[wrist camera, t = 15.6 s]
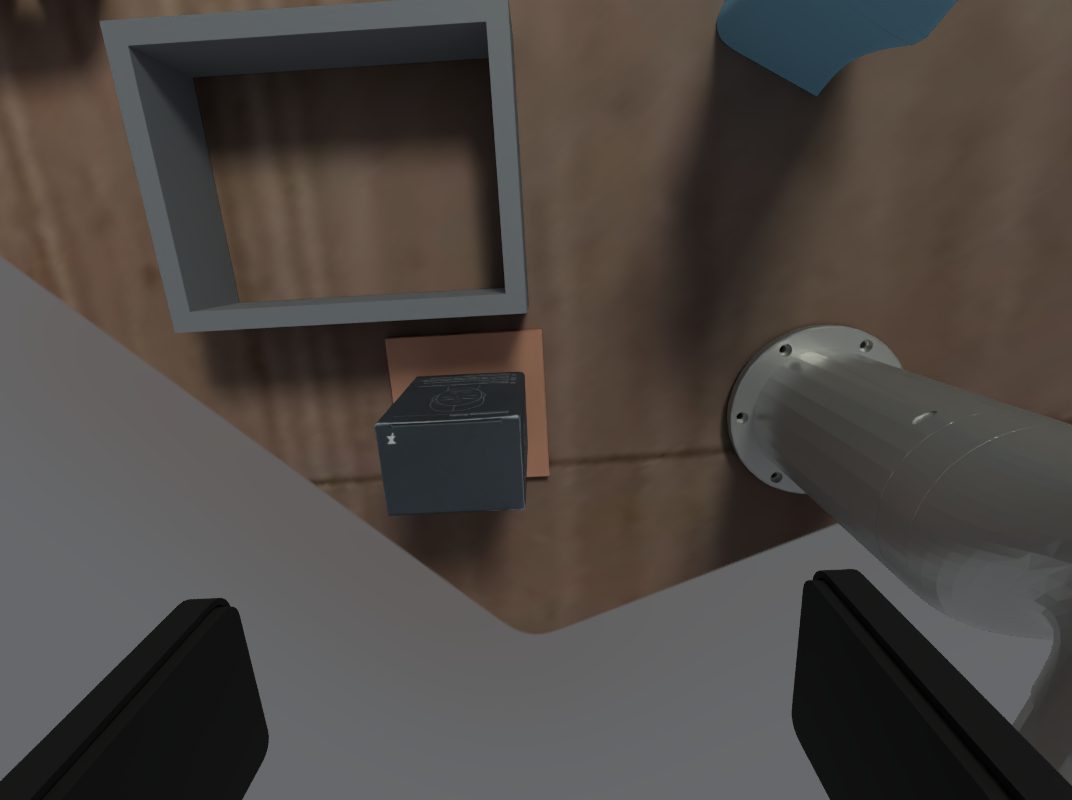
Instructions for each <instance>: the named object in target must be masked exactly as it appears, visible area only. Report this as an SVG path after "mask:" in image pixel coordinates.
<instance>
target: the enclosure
mask: <svg viewBox="0 0 1072 800" xmlns="http://www.w3.org/2000/svg"><path fill="white" fill-rule="evenodd" d="M99 22H100V26H101V30H102V34H103V38H104V43H105V47H106V51H107V55H108V59H109V63H110V67H111V71H112V76H113V80H114V84H115V88H116V92H117V96H118V100H119V104H120V108H121V113H122V117H123V121H124V125H125V129H126V133H127V137H128V141H129V146H130V150H131V154H132V158H133V162H134V166H135V170H136V174H137V179H138V183H139V187H140V191H141V195H142V199H143V203H144V207H145V211H146V216H147V220H148V224H149V228H150V232H151V236H152V240H153V244H154V249H155V253H156V257H157V261H158V265H159V269H160V273H161V277H162V281H163V286H164V290H165V294H166V298H167V302H168V306H169V310H170V314H171V319H172V323H173V327H174V331H175V333H184V332H202V331H220V330H238V329H255V328H273V327H291V326H309V325H327V324H344V323H362V322H380V321H398V320H416V319H433V318H451V317H469V316H487V315H504V314H522V313H527V311H528V305H529V300H528V283H527V267H526V250H525V233H524V216H523V199H522V183H521V166H520V149H519V132H518V115H517V99H516V82H515V65H514V48H513V33H512V25H511V17H510V8H509V0H397V1H382V2H368V3H353V4H339V5H324V6H309V7H295V8H280V9H266V10H251V11H237V12H222V13H208V14H193V15H178V16H164V17H149V18H135V19H120V20H106V21H99ZM482 58H489V67H490V81H491V95H492V109H493V124H494V138H495V152H496V166H497V180H498V194H499V208H500V222H501V236H502V250H503V264H504V279H505V288H492V289H474V290H457V291H439V292H422V293H404V294H387V295H369V296H352V297H335V298H317V299H300V300H282V301H265V302H247V303H239V299H238V294H237V289H236V284H235V279H234V274H233V270H232V265H231V260H230V255H229V250H228V245H227V241H226V236H225V231H224V226H223V221H222V216H221V211H220V207H219V202H218V197H217V192H216V187H215V182H214V178H213V173H212V168H211V163H210V158H209V153H208V148H207V144H206V139H205V134H204V129H203V124H202V119H201V115H200V110H199V105H198V100H197V95H196V90H195V85H194V81H193V78H195V77H210V76H225V75H240V74H255V73H270V72H285V71H300V70H316V69H331V68H346V67H361V66H376V65H391V64H406V63H421V62H436V61H452V60H467V59H482Z"/></svg>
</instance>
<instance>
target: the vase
mask: <svg viewBox="0 0 1072 800" xmlns="http://www.w3.org/2000/svg"><path fill="white" fill-rule="evenodd" d="M957 1H958V0H726V1H725V3H724V5H723V7H722V9H721V11H720V13H719V16H718V19H717V24H716V25H717V30H718V33H719V36H720V38H721V40H722V41H723V42H724V43H725V44H726V45H727V46H729V47H730V48H732V49H733V50H735V51H737V52H738V53H740V54H742V55H743V56H745V57H747V58H749V59H750V60H752V61H754V62H756V63H758V64H759V65H761V66H763V67H765V68H767V69H768V70H770V71H772V72H774V73H775V74H777V75H779V76H781V77H783V78H784V79H786V80H788V81H790V82H791V83H793V84H795V85H797V86H799V87H800V88H802V89H804V90H806V91H808V92H809V93H811V94H813V95H815V96H818V94H819V93H820V92H821V91H822V89H823V88H824V87H825V86H826V84H827V83H828V82H829V81H830V80H831V79H832V78H833V76H835V75H836V74H837V73H838V72H839V71H840V70H841V69H842V68H843V67H844V66H846V65H847V64H848V63H850V62H851V61H853V60H854V59H857V58H859V57H861V56H863V55H865V54H868V53H872V52H875V51H878V50H883V49H888V48H894V47H901V46H907V45H913V44H915V43H917V42H919V41H921V40H922V39H924V38H926V37H927V36H928V35H929V34H930V33H931V31H932V30H933V29H934V28H935V27H936V25H937V24H938V23H939V22H940V21H941V19H942V18H943V17H944V16H945V15H946V13H947V12H948V11H949V10H950V9H951V8H952V6H953V5H954V4H955V3H956V2H957Z"/></svg>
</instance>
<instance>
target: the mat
mask: <svg viewBox="0 0 1072 800" xmlns="http://www.w3.org/2000/svg"><path fill="white" fill-rule="evenodd" d="M385 345H386V352H387V360H388V367H389V375H390V382H391V389H392V397H393V403H394V402H395V401H396V400H397V399H398V398H399V397H400V395H401V394H402V393H403V392H404V391H405V390H406V388H407V387H408V386H409V385H410V384H411V383H412V382H413V380H414V379H415V378H416V377H419V376H437V375H457V374H479V373H500V372H523V373H524V375H525V391H526V413H527V434H528V454H527V477H538V476H549V458H548V440H547V421H546V402H545V384H544V365H543V347H542V329H533V330H515V331H497V332H479V333H461V334H443V335H425V336H407V337H389V338H386V339H385Z"/></svg>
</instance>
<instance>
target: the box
mask: <svg viewBox="0 0 1072 800" xmlns="http://www.w3.org/2000/svg"><path fill="white" fill-rule="evenodd" d="M375 432H376V438H377V444H378V450H379V458H380V465H381V472H382V478H383V486H384V493H385V499H386V505H387V512H388V515H390V516H393V515H411V514H431V513H453V512H474V511H495V510H518V509H525V502H526V482H527V454H528V434H527V413H526V391H525V375H524V373H523V372H500V373H479V374H457V375H437V376H419V377H416V378H415V379H414V380H413V382H412V383H411V384H410V385H409V386H408V387H407V388H406V390H405V391H404V392H403V393H402V394H401V395H400V397H399V398H398V399H397V400H396V401H395V402H394V403H393V405H392V406H391V407H390V408H389V409H388V410H387V412H386V413H385V414H384V415H383V416H382V417H381V419H380V420H379V421H378V422H377V423H376V424H375Z"/></svg>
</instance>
